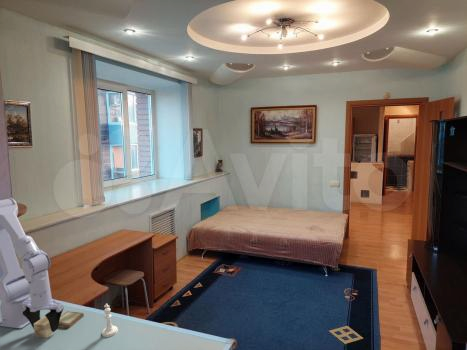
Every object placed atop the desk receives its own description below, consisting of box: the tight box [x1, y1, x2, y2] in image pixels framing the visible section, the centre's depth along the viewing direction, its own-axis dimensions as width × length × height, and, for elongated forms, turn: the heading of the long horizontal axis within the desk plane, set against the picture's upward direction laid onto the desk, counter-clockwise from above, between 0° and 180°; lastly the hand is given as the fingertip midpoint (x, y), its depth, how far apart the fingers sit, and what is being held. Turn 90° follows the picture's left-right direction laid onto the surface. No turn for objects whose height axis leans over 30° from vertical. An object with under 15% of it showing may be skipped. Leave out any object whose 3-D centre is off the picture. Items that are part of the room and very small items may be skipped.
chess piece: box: [101, 303, 119, 338], centre depth 103 cm, size 5×5×10 cm
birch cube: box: [33, 315, 56, 339], centre depth 105 cm, size 4×4×4 cm
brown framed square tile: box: [58, 311, 85, 329], centre depth 112 cm, size 7×7×1 cm
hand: (46, 328), depth 106 cm, fingers open, 7 cm apart
